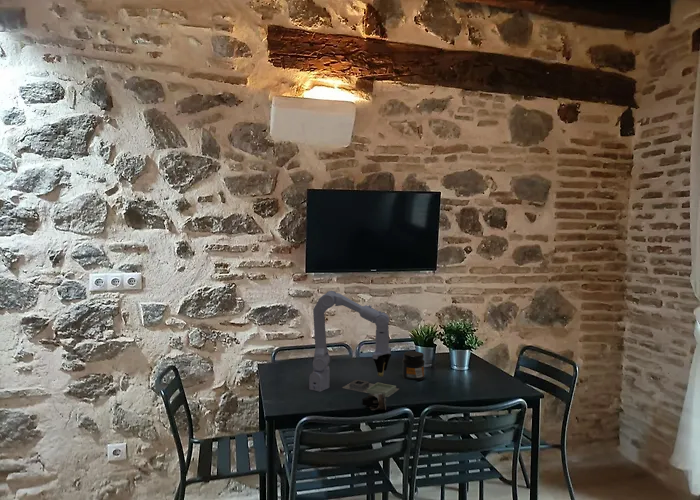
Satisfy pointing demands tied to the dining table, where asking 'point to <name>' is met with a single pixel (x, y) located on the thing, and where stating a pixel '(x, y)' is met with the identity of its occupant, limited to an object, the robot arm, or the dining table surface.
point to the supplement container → (413, 365)
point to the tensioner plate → (366, 389)
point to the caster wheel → (375, 401)
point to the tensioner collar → (359, 384)
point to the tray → (381, 388)
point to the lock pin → (382, 372)
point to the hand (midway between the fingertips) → (381, 371)
